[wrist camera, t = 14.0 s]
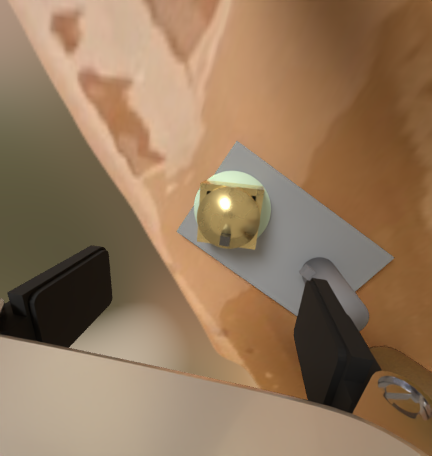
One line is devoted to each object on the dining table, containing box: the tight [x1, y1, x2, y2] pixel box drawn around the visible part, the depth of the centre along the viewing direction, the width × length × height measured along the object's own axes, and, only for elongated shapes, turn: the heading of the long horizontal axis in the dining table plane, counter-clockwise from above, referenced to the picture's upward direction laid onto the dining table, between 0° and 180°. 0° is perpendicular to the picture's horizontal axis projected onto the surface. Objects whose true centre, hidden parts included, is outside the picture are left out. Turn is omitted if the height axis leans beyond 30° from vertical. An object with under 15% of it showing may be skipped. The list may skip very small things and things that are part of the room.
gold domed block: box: [197, 180, 264, 250], centre depth 24 cm, size 6×6×5 cm
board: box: [177, 141, 394, 331], centre depth 23 cm, size 22×13×9 cm, turn 56°
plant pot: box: [369, 347, 432, 400], centre depth 24 cm, size 15×15×16 cm
